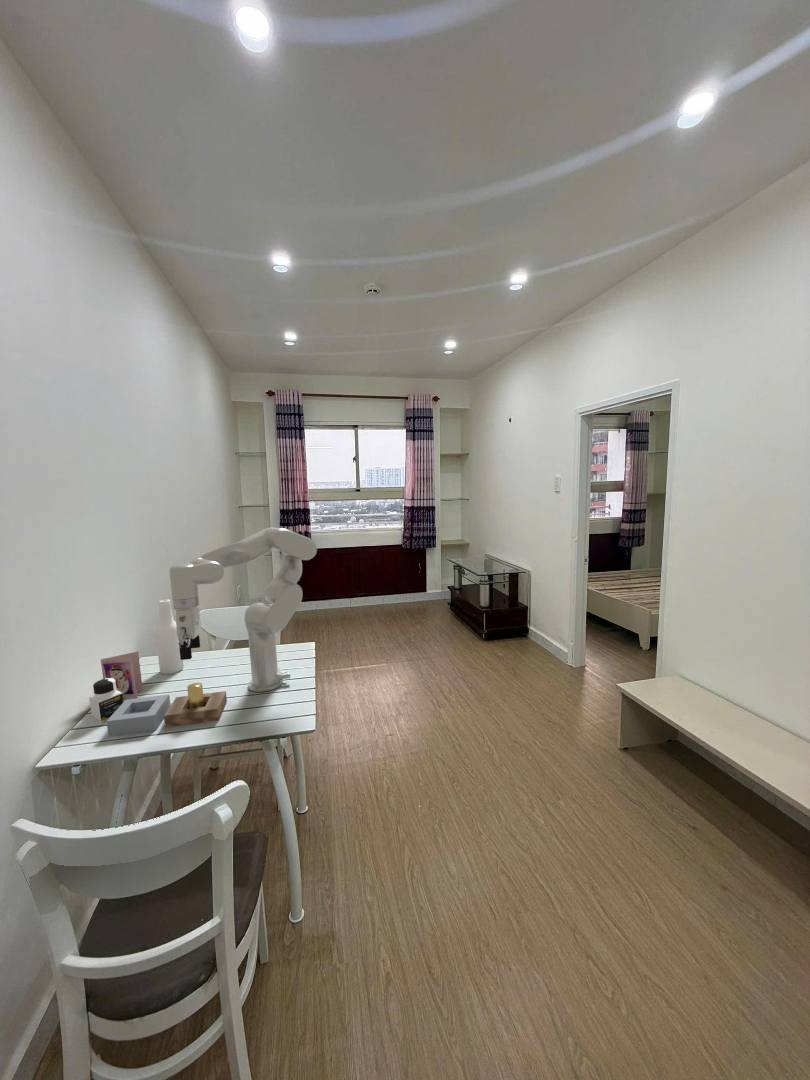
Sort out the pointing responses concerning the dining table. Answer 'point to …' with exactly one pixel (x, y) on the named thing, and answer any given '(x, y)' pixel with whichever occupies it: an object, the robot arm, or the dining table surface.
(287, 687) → the dining table surface
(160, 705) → the slate seat block
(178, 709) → the brown hollow frame
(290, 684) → the dining table surface
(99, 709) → the medicine bottle
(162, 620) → the alcohol
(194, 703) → the brass axle
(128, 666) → the greeting card
